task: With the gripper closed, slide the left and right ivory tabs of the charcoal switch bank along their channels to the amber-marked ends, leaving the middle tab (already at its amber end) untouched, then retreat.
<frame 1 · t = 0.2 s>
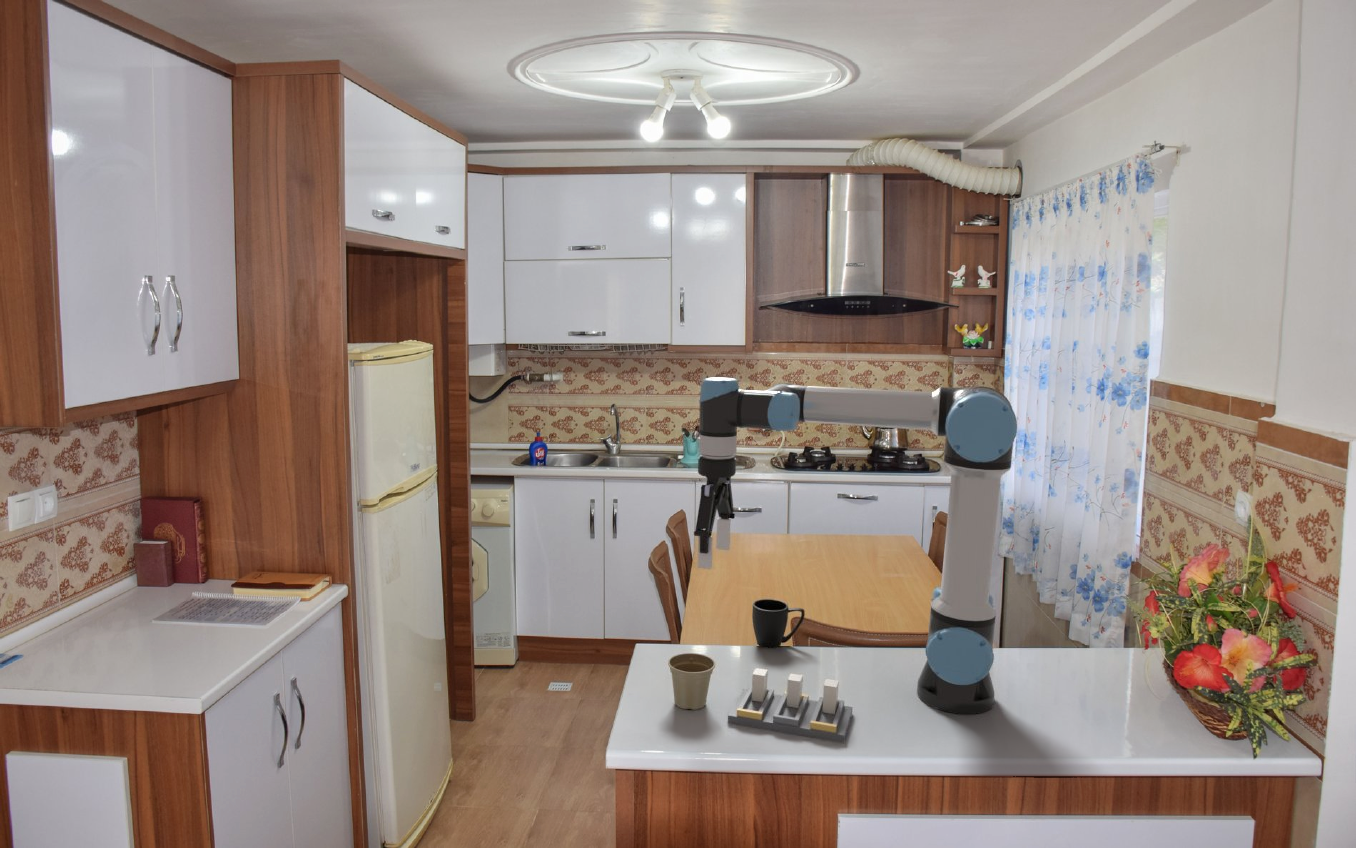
hand: (714, 558, 184), 28 cm above the counter, fingers open, 13 cm apart
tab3: (759, 685, 179), point 4 cm above the counter, slide at 0.0 cm
tab1: (830, 696, 175), point 4 cm above the counter, slide at 0.0 cm
flower pot: (690, 704, 180), on the counter
tab2: (794, 690, 177), point 4 cm above the counter, slide at 0.0 cm
switch bank: (790, 718, 175), on the counter
mug: (776, 645, 211), on the counter
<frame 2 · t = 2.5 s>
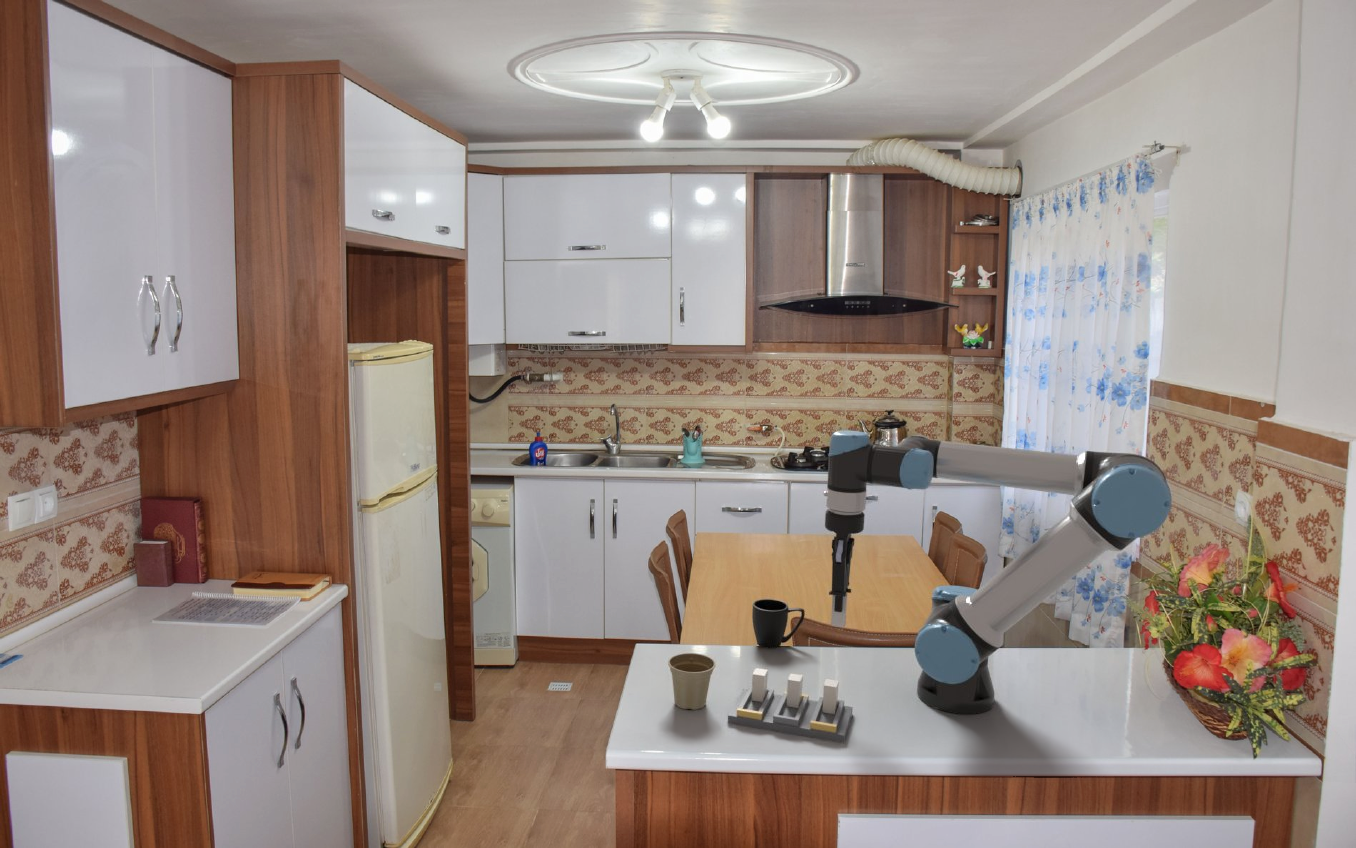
hand: (838, 625, 181), 16 cm above the counter, fingers closed
nothing on the counter moved.
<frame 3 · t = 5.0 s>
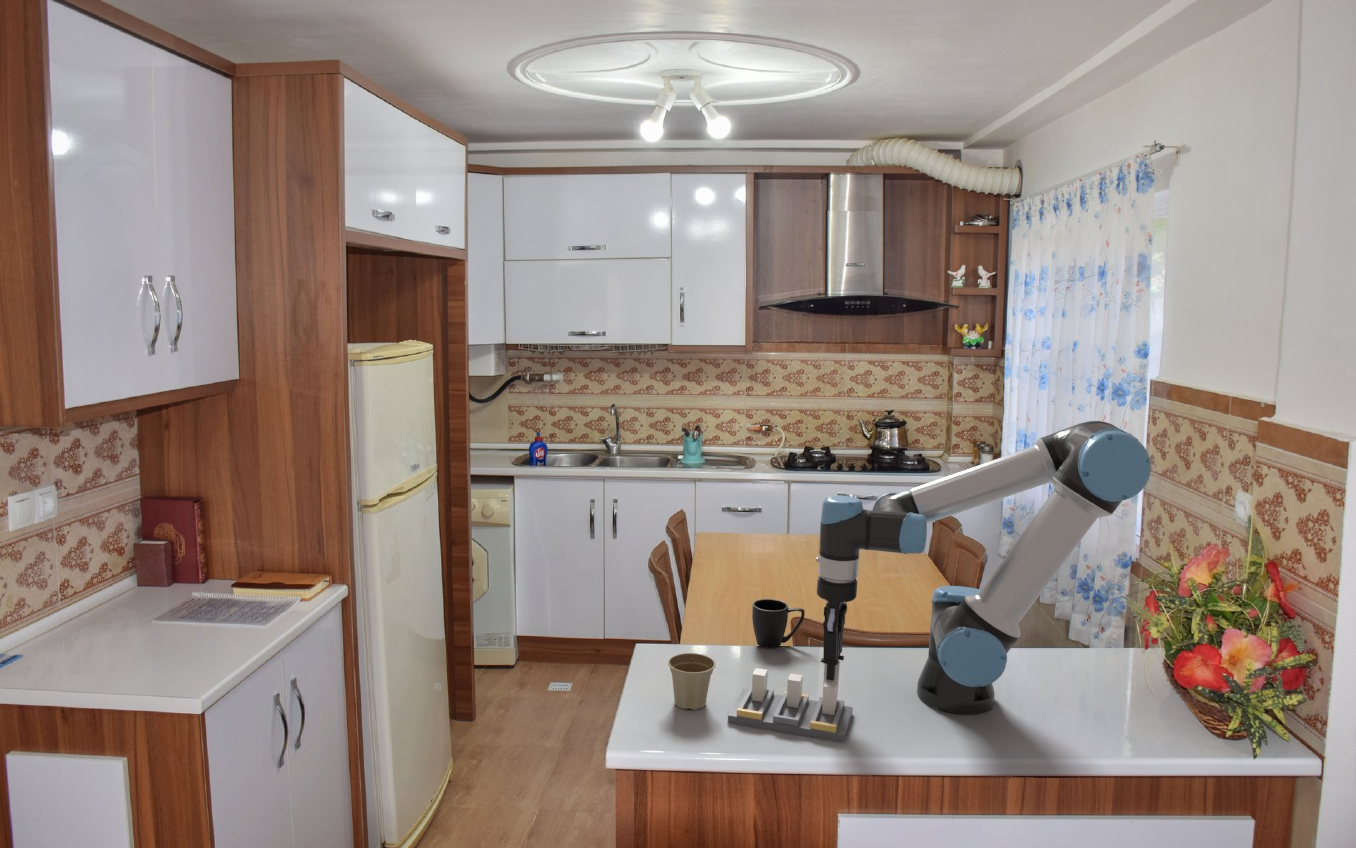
hand: (830, 692, 177), 4 cm above the counter, fingers closed
tab1: (830, 697, 175), point 4 cm above the counter, slide at 0.5 cm, touching gripper
everything else where it was.
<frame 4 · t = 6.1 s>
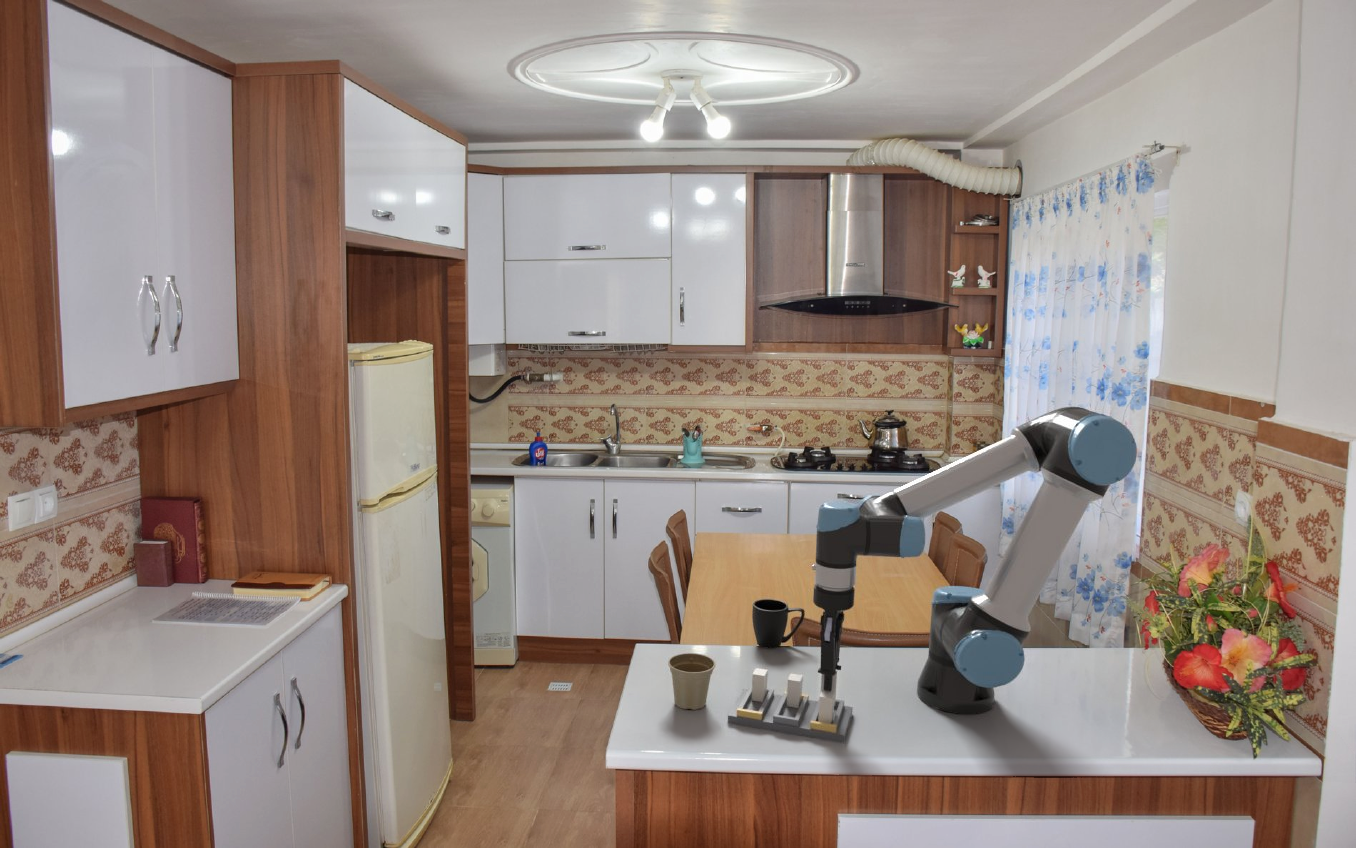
hand: (827, 703, 173), 4 cm above the counter, fingers closed
tab1: (826, 708, 170), point 4 cm above the counter, slide at 5.1 cm, touching gripper
everything else where it was.
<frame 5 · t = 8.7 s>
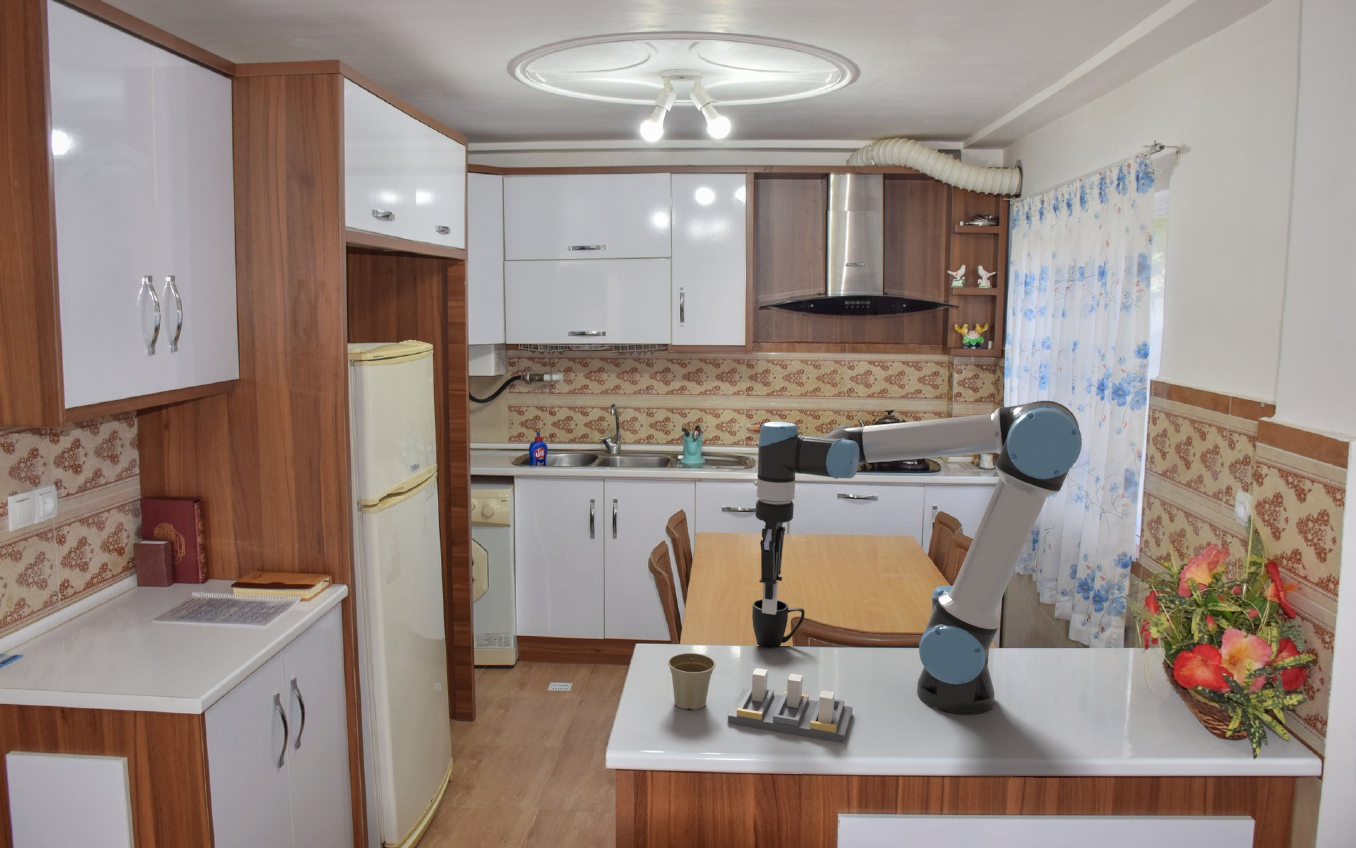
hand: (769, 612, 185), 17 cm above the counter, fingers closed
tab1: (826, 708, 170), point 4 cm above the counter, slide at 5.2 cm
everything else where it was.
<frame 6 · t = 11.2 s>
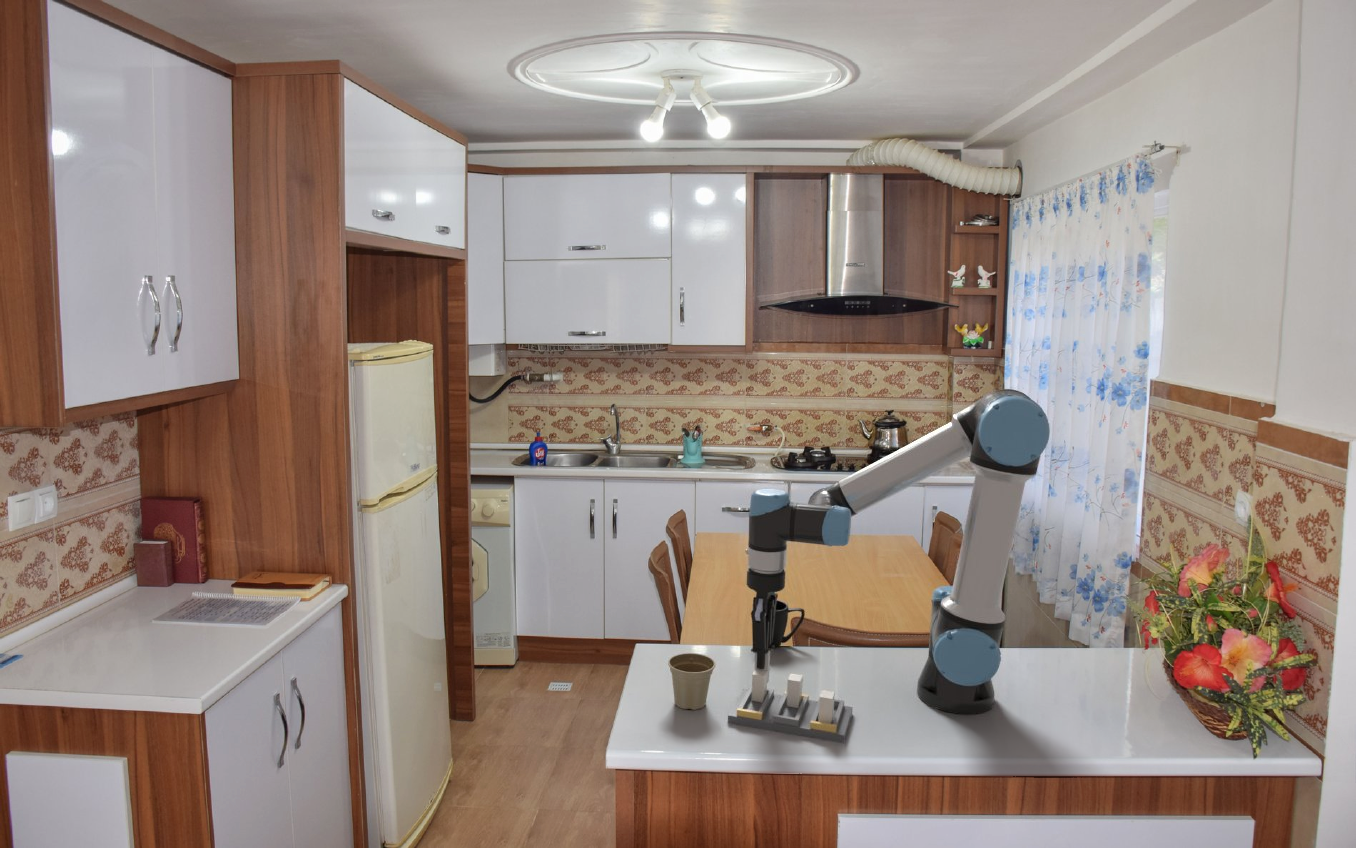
hand: (761, 681, 182), 4 cm above the counter, fingers closed
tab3: (759, 685, 179), point 4 cm above the counter, slide at 0.1 cm, touching gripper
everything else where it was.
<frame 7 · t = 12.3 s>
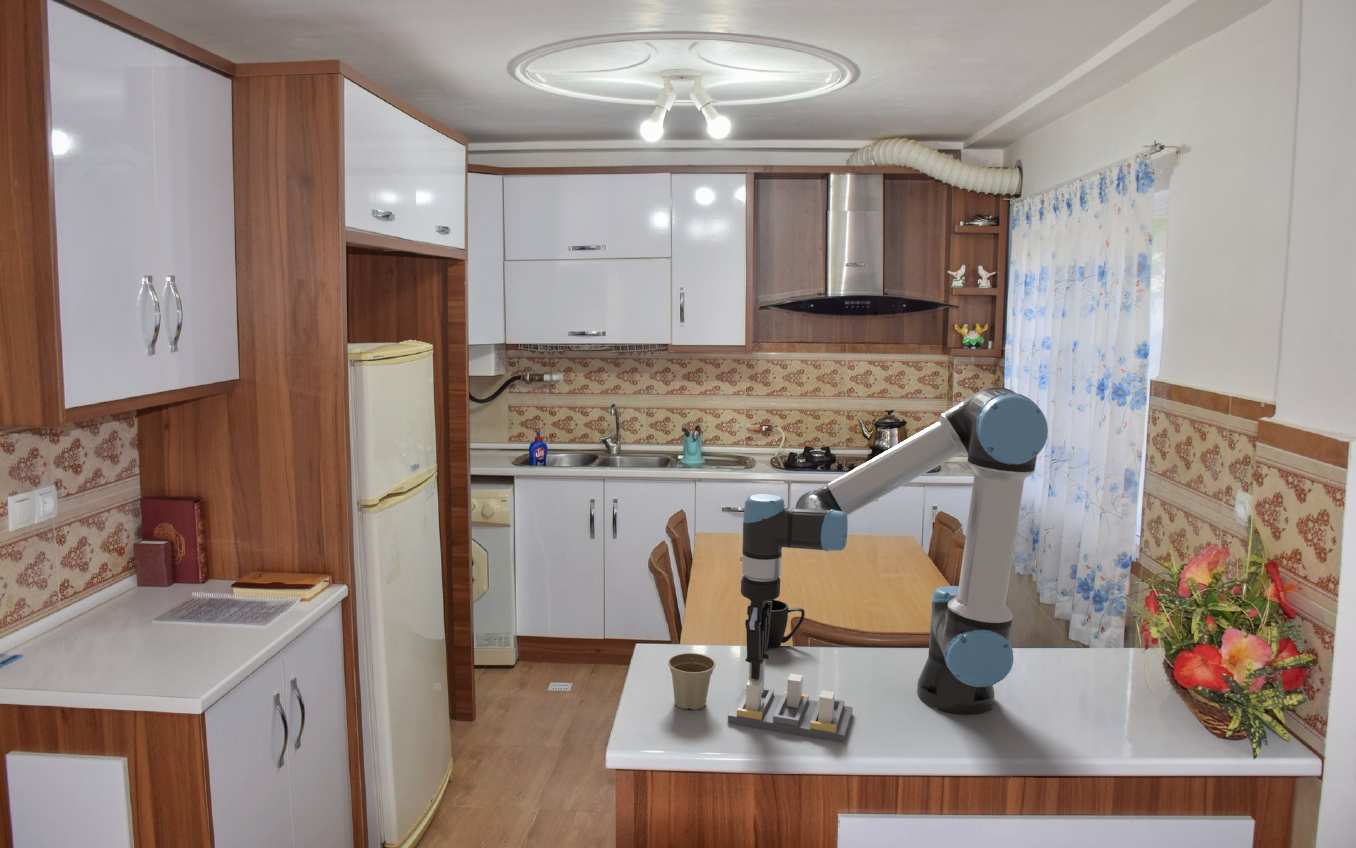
hand: (755, 691, 177), 4 cm above the counter, fingers closed
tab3: (753, 695, 175), point 4 cm above the counter, slide at 5.0 cm, touching gripper
everything else where it was.
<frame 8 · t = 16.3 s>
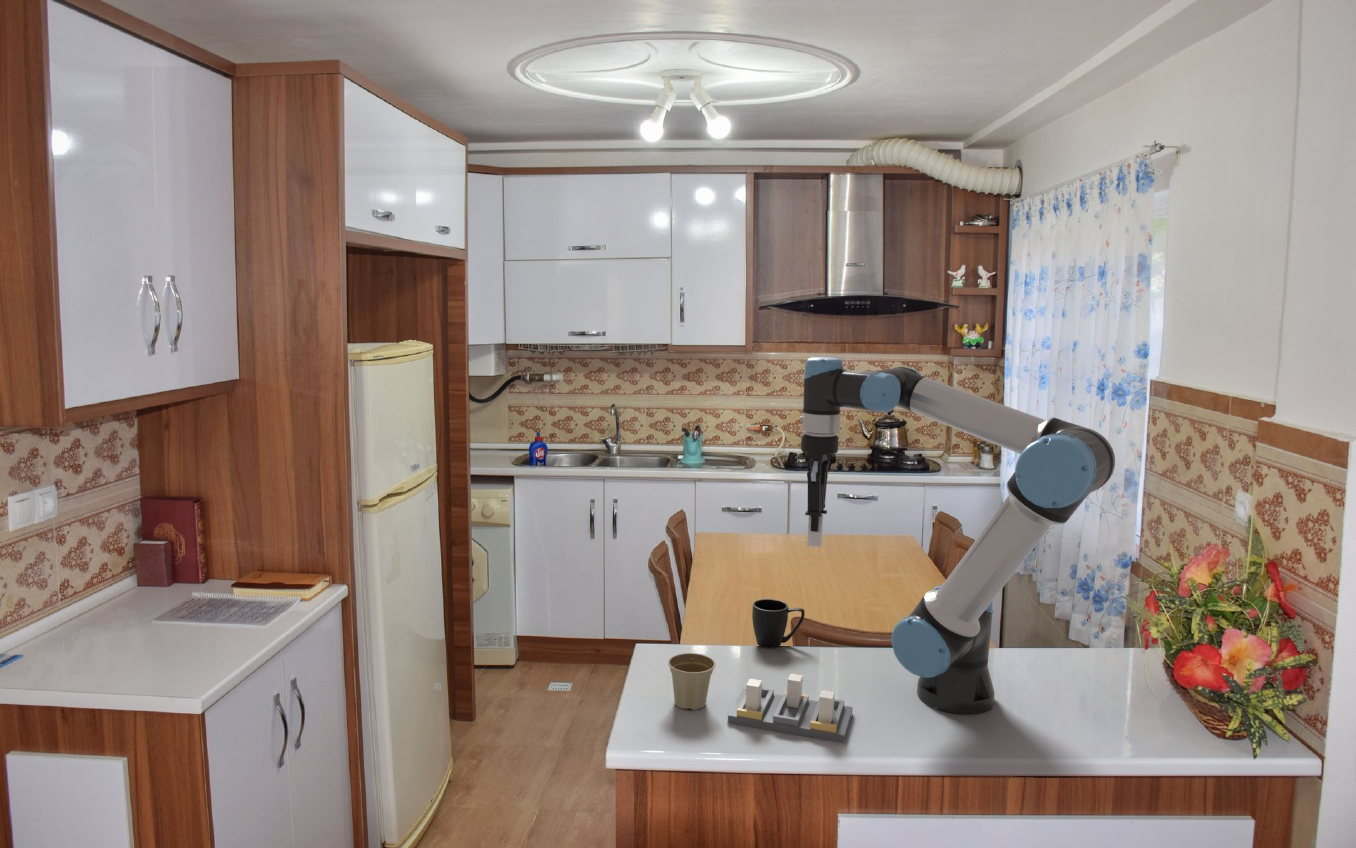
hand: (814, 545, 189), 29 cm above the counter, fingers closed
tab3: (753, 696, 175), point 4 cm above the counter, slide at 5.2 cm
everything else where it was.
at the end: tab1 slide at 5.2 cm; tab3 slide at 5.2 cm; tab2 slide at 0.0 cm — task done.
